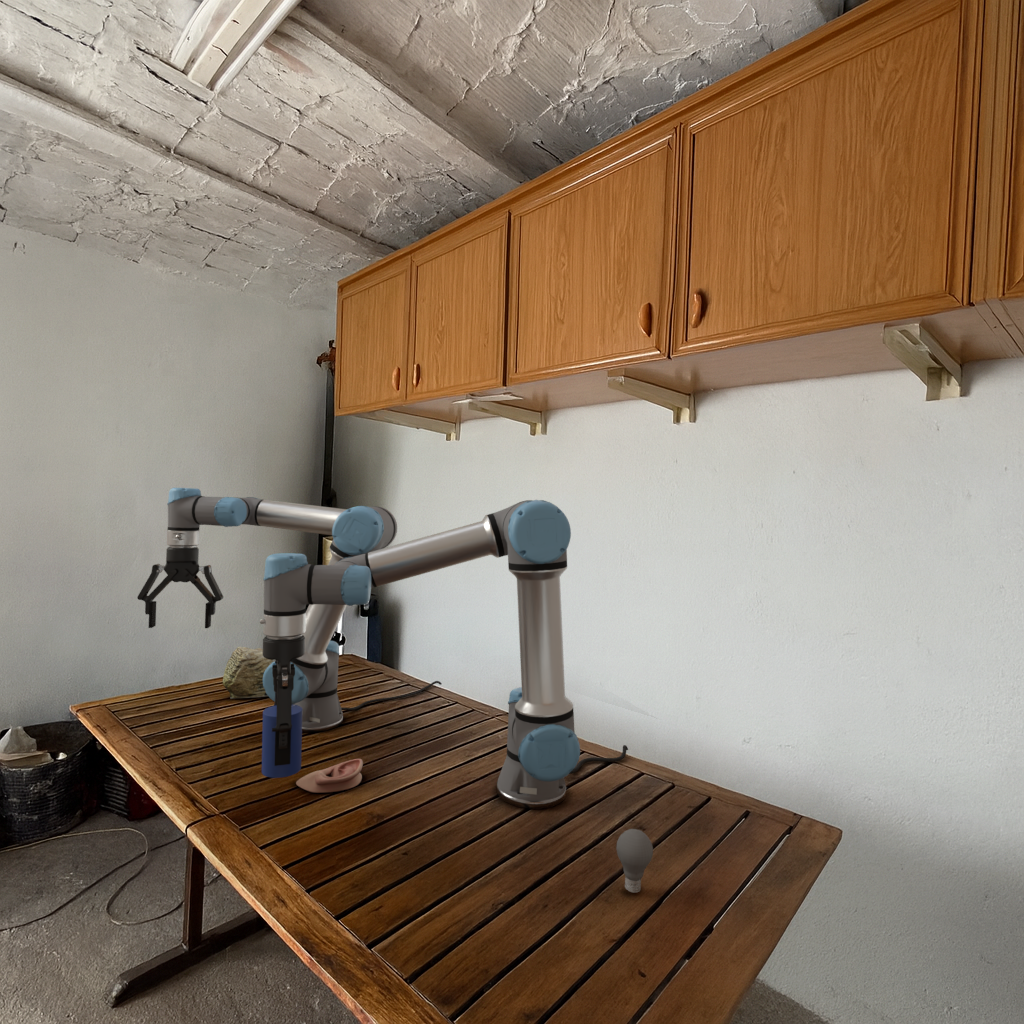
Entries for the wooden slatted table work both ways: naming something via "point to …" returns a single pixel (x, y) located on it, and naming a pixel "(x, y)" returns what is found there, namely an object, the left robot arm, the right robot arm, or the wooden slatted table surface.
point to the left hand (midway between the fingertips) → (180, 627)
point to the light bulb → (634, 857)
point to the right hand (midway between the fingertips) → (281, 755)
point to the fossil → (246, 673)
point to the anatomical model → (333, 777)
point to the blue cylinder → (269, 744)
